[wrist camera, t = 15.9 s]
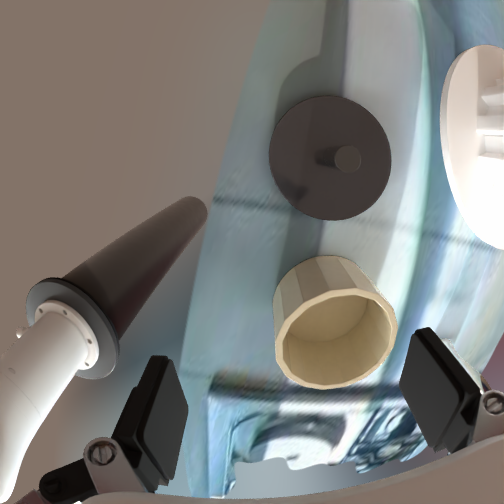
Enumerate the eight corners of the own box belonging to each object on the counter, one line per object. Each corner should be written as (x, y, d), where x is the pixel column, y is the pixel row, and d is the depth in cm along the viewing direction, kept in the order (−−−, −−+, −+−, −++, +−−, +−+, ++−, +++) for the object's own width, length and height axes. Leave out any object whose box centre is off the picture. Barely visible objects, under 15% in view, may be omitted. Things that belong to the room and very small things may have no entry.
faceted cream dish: (274, 347, 36) (277, 394, 28) (269, 259, 32) (272, 294, 24) (365, 338, 36) (385, 379, 28) (374, 251, 32) (405, 282, 24)
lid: (273, 221, 31) (276, 238, 25) (263, 99, 27) (264, 85, 21) (387, 215, 30) (412, 230, 24) (382, 100, 26) (408, 91, 20)
